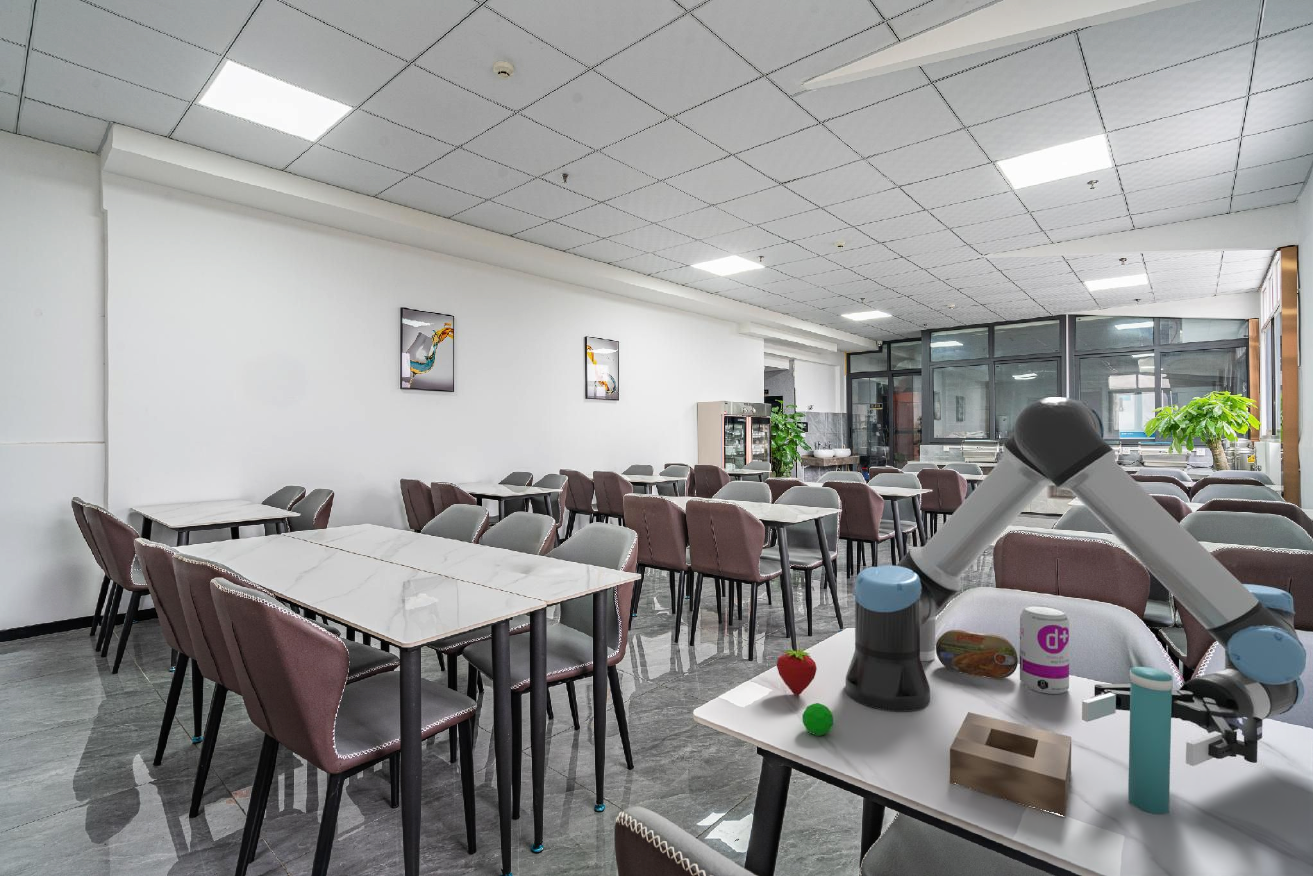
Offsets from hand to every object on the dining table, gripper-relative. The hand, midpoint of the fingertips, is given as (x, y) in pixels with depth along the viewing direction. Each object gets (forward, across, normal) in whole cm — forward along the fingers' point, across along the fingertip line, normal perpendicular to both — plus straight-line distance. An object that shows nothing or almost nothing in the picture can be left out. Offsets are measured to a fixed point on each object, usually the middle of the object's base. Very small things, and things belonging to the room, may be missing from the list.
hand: (1133, 731), depth 85 cm
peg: (-4, 0, -11) cm, 11 cm away
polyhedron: (+24, +35, -11) cm, 44 cm away
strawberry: (+19, +48, -11) cm, 53 cm away
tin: (-21, +41, -11) cm, 48 cm away
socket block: (+7, +12, -11) cm, 18 cm away
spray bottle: (-18, +53, -11) cm, 57 cm away
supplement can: (-27, +31, -11) cm, 43 cm away
